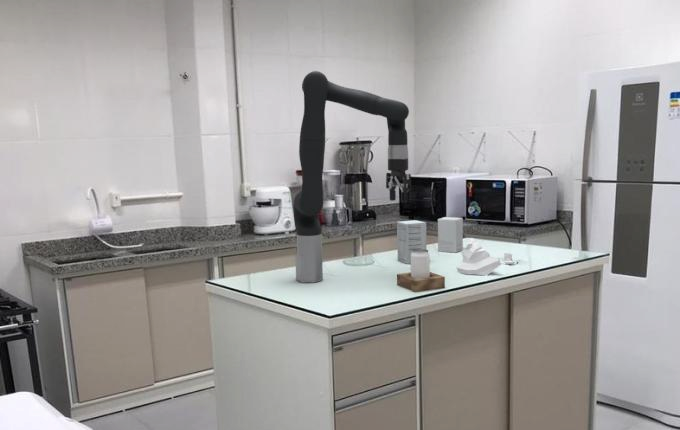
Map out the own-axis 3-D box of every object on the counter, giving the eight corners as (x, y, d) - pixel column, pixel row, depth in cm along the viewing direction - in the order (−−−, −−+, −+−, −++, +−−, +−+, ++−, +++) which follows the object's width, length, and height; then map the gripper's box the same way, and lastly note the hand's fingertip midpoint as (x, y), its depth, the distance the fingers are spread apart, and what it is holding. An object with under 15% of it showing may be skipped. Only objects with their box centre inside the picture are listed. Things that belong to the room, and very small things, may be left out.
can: (429, 287, 202) (429, 252, 201) (410, 286, 204) (410, 252, 202) (430, 282, 209) (430, 249, 207) (411, 282, 210) (411, 248, 208)
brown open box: (414, 292, 198) (414, 281, 198) (396, 284, 209) (396, 274, 209) (444, 287, 203) (444, 276, 203) (425, 280, 214) (425, 270, 214)
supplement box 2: (463, 249, 272) (463, 217, 271) (456, 253, 265) (456, 219, 263) (444, 248, 277) (444, 216, 275) (437, 251, 270) (437, 218, 268)
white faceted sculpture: (474, 282, 217) (463, 245, 216) (455, 276, 231) (445, 242, 230) (502, 270, 220) (492, 234, 219) (482, 266, 235) (472, 232, 233)
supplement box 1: (427, 262, 246) (427, 222, 244) (407, 264, 243) (407, 223, 241) (416, 258, 255) (415, 219, 253) (396, 260, 251) (396, 221, 249)
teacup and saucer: (513, 266, 236) (513, 256, 235) (494, 264, 241) (494, 254, 240) (521, 262, 243) (521, 253, 242) (502, 260, 248) (502, 251, 247)
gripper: (379, 157, 223) (380, 200, 225) (399, 158, 210) (399, 203, 212) (397, 157, 226) (397, 199, 228) (417, 157, 213) (417, 202, 215)
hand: (398, 201), depth 220 cm, fingers open, 8 cm apart
